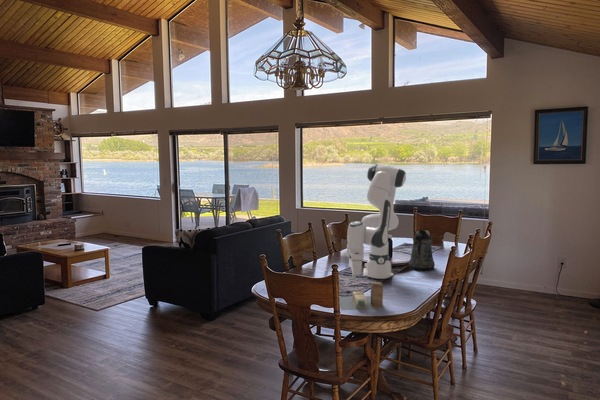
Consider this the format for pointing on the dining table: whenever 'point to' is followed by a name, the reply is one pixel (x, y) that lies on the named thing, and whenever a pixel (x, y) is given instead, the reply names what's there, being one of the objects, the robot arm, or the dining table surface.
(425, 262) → the beer stein
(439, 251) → the dining table surface
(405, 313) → the dining table surface
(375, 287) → the walnut block
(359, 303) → the maple block
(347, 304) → the mat
